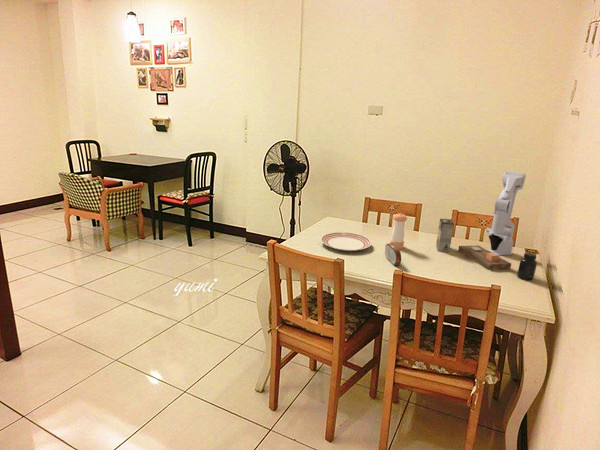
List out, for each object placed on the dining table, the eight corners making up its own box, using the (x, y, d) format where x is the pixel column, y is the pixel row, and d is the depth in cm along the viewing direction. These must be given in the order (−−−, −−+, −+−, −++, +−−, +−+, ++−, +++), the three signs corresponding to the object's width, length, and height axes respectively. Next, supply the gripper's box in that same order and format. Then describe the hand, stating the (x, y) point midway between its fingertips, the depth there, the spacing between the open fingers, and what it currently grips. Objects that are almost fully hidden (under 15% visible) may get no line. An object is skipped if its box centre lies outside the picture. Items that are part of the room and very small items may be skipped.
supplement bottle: (513, 274, 187) (518, 251, 183) (527, 275, 188) (532, 251, 184) (522, 281, 180) (528, 256, 177) (536, 281, 181) (542, 256, 178)
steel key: (476, 252, 212) (477, 247, 212) (481, 255, 209) (482, 249, 208) (469, 252, 212) (470, 247, 211) (474, 255, 208) (475, 249, 207)
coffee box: (435, 245, 223) (439, 218, 218) (447, 246, 221) (451, 219, 217) (437, 250, 214) (442, 222, 209) (449, 252, 213) (454, 223, 208)
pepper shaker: (388, 247, 215) (392, 213, 210) (390, 243, 222) (395, 210, 216) (402, 249, 213) (406, 215, 207) (404, 245, 219) (408, 212, 214)
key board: (477, 250, 218) (478, 245, 217) (510, 269, 193) (511, 263, 192) (458, 251, 215) (458, 245, 214) (488, 270, 191) (489, 264, 190)
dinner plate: (366, 258, 199) (367, 251, 198) (314, 249, 207) (314, 243, 206) (374, 241, 224) (375, 236, 223) (327, 234, 232) (328, 229, 231)
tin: (400, 267, 189) (403, 251, 186) (394, 267, 188) (396, 251, 186) (389, 256, 203) (390, 240, 200) (383, 256, 202) (385, 240, 200)
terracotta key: (492, 258, 200) (493, 252, 199) (497, 261, 196) (499, 255, 195) (485, 258, 199) (486, 253, 198) (490, 261, 195) (491, 255, 194)
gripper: (482, 219, 198) (477, 245, 202) (501, 228, 184) (496, 255, 188) (494, 219, 199) (489, 244, 203) (515, 228, 186) (509, 255, 190)
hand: (493, 249), depth 196 cm, fingers closed
